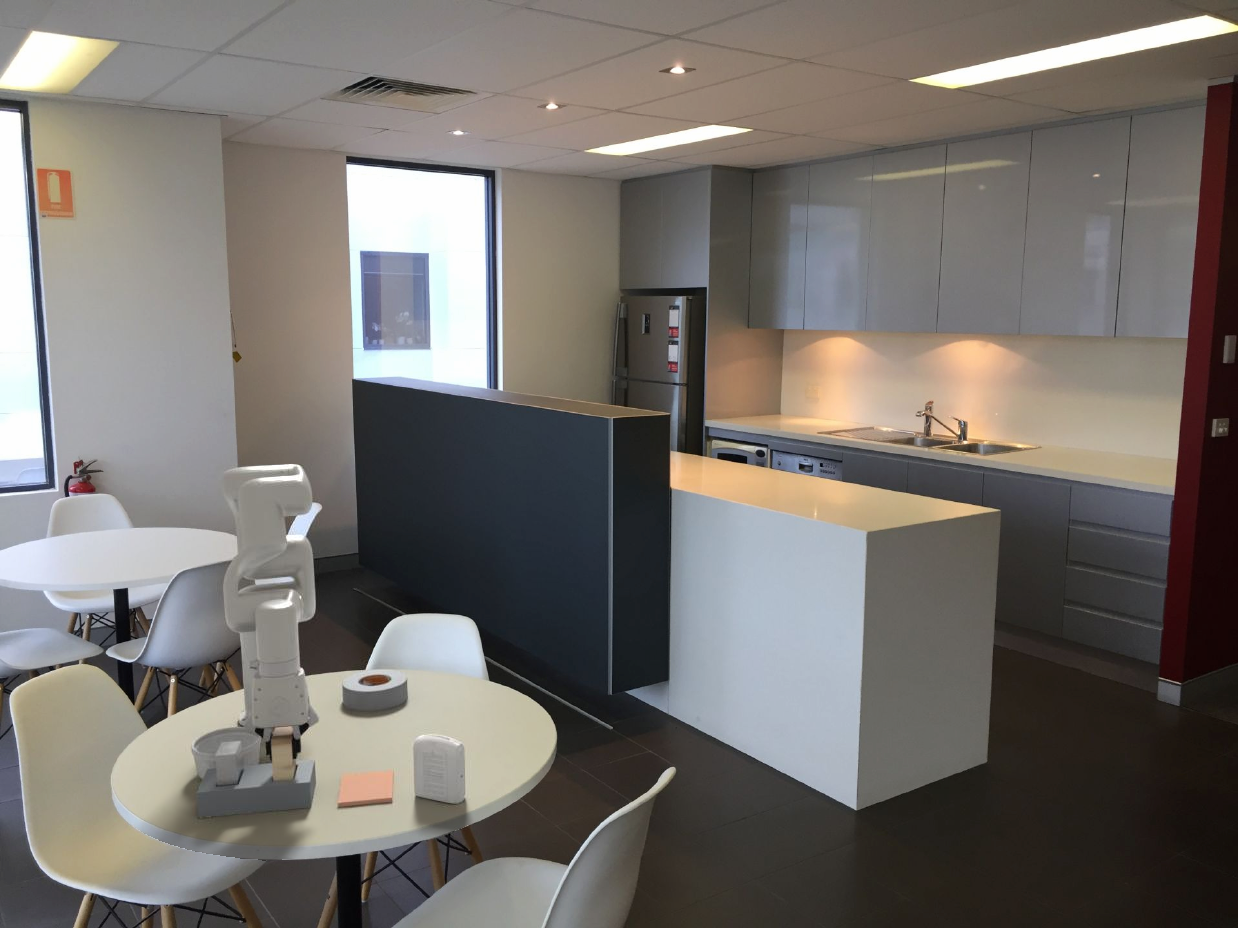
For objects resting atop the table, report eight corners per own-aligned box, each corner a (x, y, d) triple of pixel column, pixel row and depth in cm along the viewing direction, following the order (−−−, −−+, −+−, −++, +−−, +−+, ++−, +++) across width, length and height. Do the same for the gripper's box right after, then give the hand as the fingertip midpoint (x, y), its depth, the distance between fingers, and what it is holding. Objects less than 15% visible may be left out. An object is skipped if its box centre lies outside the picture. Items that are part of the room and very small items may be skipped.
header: (209, 792, 193) (207, 768, 192) (316, 782, 197) (314, 759, 196) (198, 818, 183) (196, 792, 183) (311, 806, 187) (309, 781, 187)
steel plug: (224, 796, 192) (221, 742, 190) (244, 794, 192) (240, 740, 191) (219, 811, 186) (215, 755, 184) (238, 809, 187) (235, 753, 185)
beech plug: (278, 780, 194) (275, 727, 192) (297, 779, 194) (294, 725, 193) (274, 795, 188) (271, 740, 186) (293, 793, 189) (290, 738, 187)
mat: (342, 778, 199) (342, 774, 199) (393, 773, 201) (393, 769, 201) (338, 806, 187) (337, 802, 187) (392, 801, 189) (392, 797, 189)
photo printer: (469, 796, 191) (467, 735, 189) (457, 806, 187) (455, 744, 185) (423, 787, 195) (421, 727, 193) (411, 797, 191) (408, 736, 189)
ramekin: (234, 791, 194) (232, 757, 193) (178, 782, 198) (176, 749, 197) (276, 762, 206) (274, 730, 205) (222, 754, 210) (220, 723, 209)
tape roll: (343, 691, 246) (342, 671, 245) (406, 685, 250) (406, 666, 249) (342, 714, 231) (341, 694, 231) (409, 708, 235) (408, 687, 234)
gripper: (229, 675, 182) (235, 769, 185) (322, 669, 185) (327, 761, 188) (236, 661, 189) (241, 752, 192) (326, 655, 193) (330, 744, 195)
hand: (284, 756), depth 190 cm, fingers closed on beech plug, 3 cm apart
